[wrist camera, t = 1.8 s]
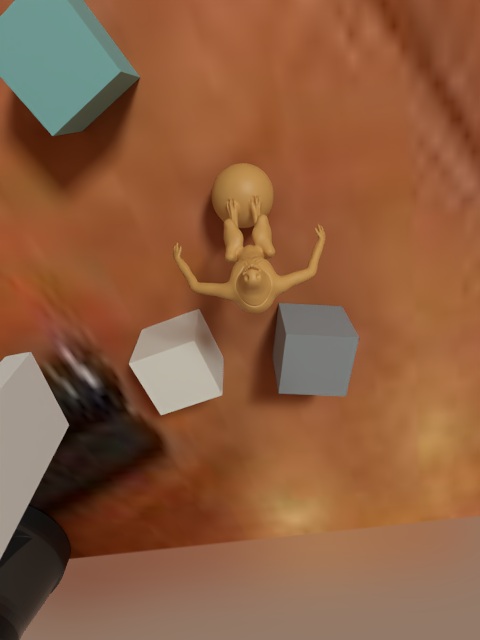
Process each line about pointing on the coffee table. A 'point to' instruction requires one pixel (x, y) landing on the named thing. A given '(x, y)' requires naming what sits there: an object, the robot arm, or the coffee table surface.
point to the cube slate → (313, 349)
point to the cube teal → (61, 62)
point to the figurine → (252, 267)
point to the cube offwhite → (178, 362)
